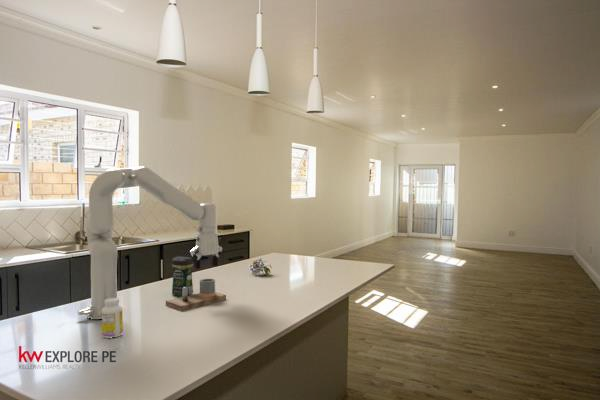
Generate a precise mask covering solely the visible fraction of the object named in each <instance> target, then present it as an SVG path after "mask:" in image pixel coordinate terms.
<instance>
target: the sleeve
mask: <svg viewBox="0 0 600 400" xmlns="http://www.w3.org/2000/svg"><path fill="white" fill-rule="evenodd" d="M215 292H216V279H214V278H203V279H200V280H199V293H200V296H201V297H212V296H215Z"/></svg>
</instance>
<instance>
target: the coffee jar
mask: <svg viewBox="0 0 600 400" xmlns="http://www.w3.org/2000/svg"><path fill="white" fill-rule="evenodd" d="M193 261H194V259H193V257H192V256H191V257H189V256H174V257H173V258H172V262H171V268H172V273H173V274H172V284H171V285H172V287H171V294H172V295H174V296H177V297H182V289H183V287H187V288H188V296H189V295H193V294H194V284H193V267H194V262H193Z"/></svg>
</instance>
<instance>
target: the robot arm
mask: <svg viewBox="0 0 600 400" xmlns="http://www.w3.org/2000/svg"><path fill="white" fill-rule="evenodd" d="M134 187H139V188H141V189H143V191H146V192H147V193H148V194H149V195H151V196H153V197H154V198H155V199H157V200H158V201H159V202H160V203H163V204H166V205H168V206H171V207H173V208H174V209H176V210H177V211H179V212H180V215H181V216H182V218H184V219H187V220H192V221H198V228H196V231H197V234H196V240H195V247H193V248H192V249H191V250H189V253H190V255H191V258H192V259H193V260H194V269H198V270H200V269H201V258H202V256H205V257H206V256H212V261H211V262H212V266H215V267H218V264H219V262H218V261H219V258H220V255H221V253H222V252H223V247H222V246H220V245H219V237H218V233H217V232H216V222H217V221H216V218H217V217H216V214H217V212H216V211H217V210H216V209H217V207H216V205H215V203H199V202H197V201H196V200H195V199H193V198H192V197H191V196H189V195H188V194H186V193H184V192H183V191H181V190H180V188H179V189H178V188H177V187H176V186H174V185H172V184H171V183H170V182H168V181H167V180H166V179H164V178H163V177H162V176H160V175H159V174H157V173H156V172H155V171H153V170H152V169H150V168H149V167H147V166H143V165H141V166H135V167H134V166H133V167H125V168H114V167H113V168H108V169H106V170H103V171H102V172H101V174H100V175H98V176H97V177H96V178H95V179H94V181H93V182H92V184H91V185H90V188H89V193H88V209H89V212H88V216H87V218H86V221H85V222H86V224H85V225H86V239H87V249H88V252H89V254H90V296H91V297H90V303H91V304H90V305H88V307H87V308H84V309H78V311H77V314H78V316H83V315H84V316H86V317H88V318H87V319H89V318H92V319H102V309H103V308H104V307H105V304H104V301H105V300H106V299H109V298H118V284H117V283H118V278H117V277H118V276H117V275H118V274H117V271H118V270H117V269H118V246H117V245H116V243H115V241H114V240H113V232H112V230H113V229H114V225H115V219H114V210H113V198H114V197H113V196H114V194H115V192H116V190H118V189H125V188H126V189H127V188H134ZM92 319H91V320H92Z"/></svg>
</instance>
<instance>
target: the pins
mask: <svg viewBox="0 0 600 400" xmlns="http://www.w3.org/2000/svg"><path fill="white" fill-rule="evenodd" d="M181 297H182V301H188V288H187V287H183V289H182V296H181Z"/></svg>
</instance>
